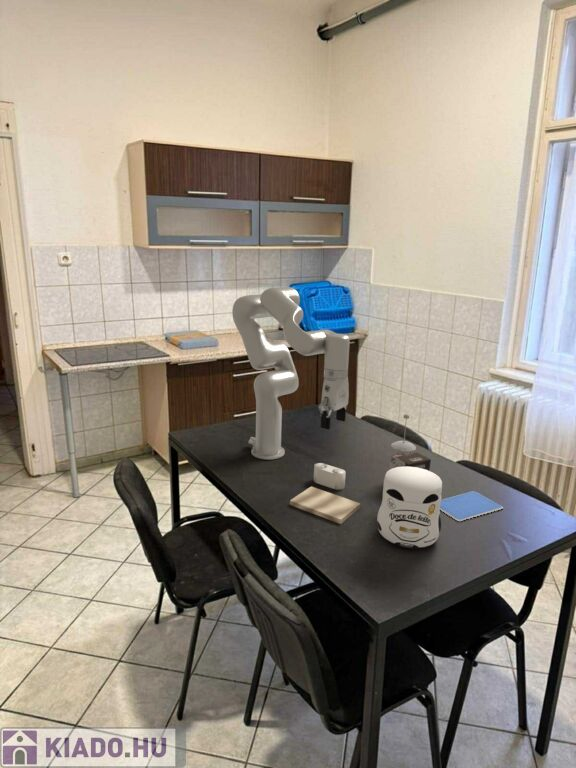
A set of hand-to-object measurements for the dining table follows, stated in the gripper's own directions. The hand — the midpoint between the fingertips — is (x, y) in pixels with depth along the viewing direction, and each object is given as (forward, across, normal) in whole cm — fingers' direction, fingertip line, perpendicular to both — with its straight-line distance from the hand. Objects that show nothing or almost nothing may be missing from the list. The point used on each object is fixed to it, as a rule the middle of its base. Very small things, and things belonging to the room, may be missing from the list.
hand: (333, 424), depth 174 cm
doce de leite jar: (+22, -14, -34) cm, 42 cm away
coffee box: (+22, +3, -26) cm, 34 cm away
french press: (+22, +16, -18) cm, 33 cm away
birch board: (+21, -14, -6) cm, 26 cm away
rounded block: (+21, 0, 0) cm, 21 cm away
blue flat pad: (+22, +14, -42) cm, 49 cm away
